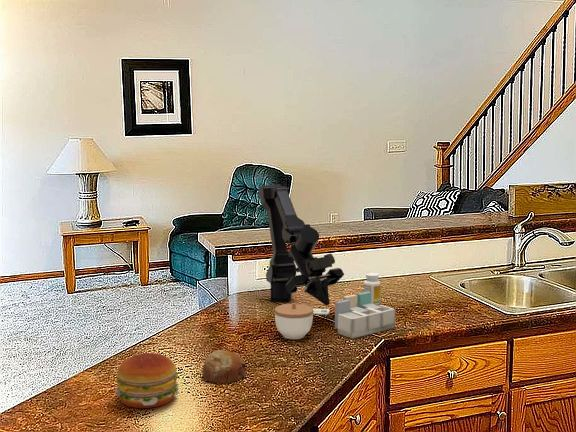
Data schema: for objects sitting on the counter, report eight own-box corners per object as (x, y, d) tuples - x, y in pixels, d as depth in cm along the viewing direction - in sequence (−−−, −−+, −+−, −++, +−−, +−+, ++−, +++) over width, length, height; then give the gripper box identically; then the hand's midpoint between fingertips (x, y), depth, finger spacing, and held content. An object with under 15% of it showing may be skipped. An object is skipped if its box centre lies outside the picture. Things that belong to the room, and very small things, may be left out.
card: (302, 313, 218) (302, 312, 218) (304, 309, 223) (304, 307, 223) (328, 315, 217) (328, 313, 217) (329, 310, 222) (329, 308, 222)
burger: (111, 414, 146) (110, 368, 144) (119, 389, 159) (117, 346, 158) (178, 411, 147) (177, 365, 146) (179, 386, 161) (178, 344, 159)
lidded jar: (317, 332, 200) (318, 300, 199) (306, 343, 190) (306, 310, 189) (282, 328, 204) (282, 296, 202) (268, 339, 194) (269, 306, 192)
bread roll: (210, 382, 172) (196, 354, 171) (248, 364, 173) (234, 336, 171) (209, 399, 163) (194, 369, 161) (250, 379, 163) (235, 349, 162)
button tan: (342, 321, 207) (342, 296, 206) (353, 319, 210) (353, 294, 209) (358, 327, 202) (358, 301, 201) (369, 324, 204) (370, 299, 203)
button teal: (356, 318, 210) (356, 293, 209) (367, 315, 213) (367, 291, 212) (372, 323, 205) (373, 298, 204) (383, 321, 208) (383, 296, 207)
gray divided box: (337, 333, 199) (338, 314, 199) (380, 322, 210) (380, 304, 209) (352, 338, 195) (352, 319, 194) (395, 327, 205) (395, 309, 204)
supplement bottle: (379, 301, 233) (380, 272, 231) (380, 305, 228) (381, 276, 226) (363, 300, 233) (363, 272, 232) (363, 305, 228) (364, 275, 227)
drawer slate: (334, 327, 201) (335, 302, 200) (346, 324, 204) (346, 299, 203) (350, 333, 196) (351, 307, 195) (362, 330, 199) (363, 304, 197)
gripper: (292, 249, 202) (316, 295, 196) (340, 241, 214) (365, 285, 207) (275, 270, 210) (298, 315, 203) (323, 262, 221) (346, 304, 214)
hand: (327, 304), depth 207 cm, fingers closed
